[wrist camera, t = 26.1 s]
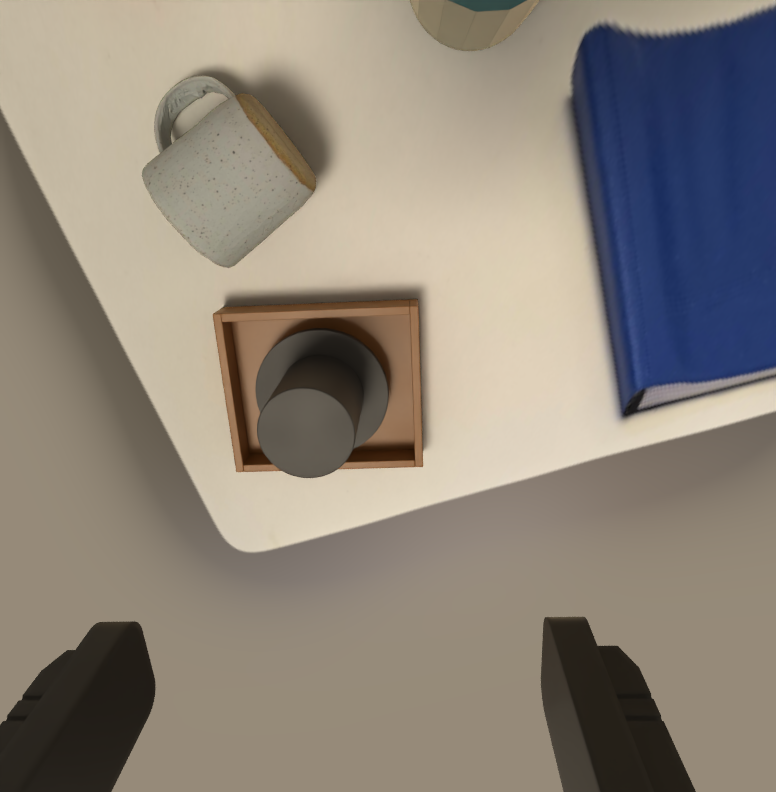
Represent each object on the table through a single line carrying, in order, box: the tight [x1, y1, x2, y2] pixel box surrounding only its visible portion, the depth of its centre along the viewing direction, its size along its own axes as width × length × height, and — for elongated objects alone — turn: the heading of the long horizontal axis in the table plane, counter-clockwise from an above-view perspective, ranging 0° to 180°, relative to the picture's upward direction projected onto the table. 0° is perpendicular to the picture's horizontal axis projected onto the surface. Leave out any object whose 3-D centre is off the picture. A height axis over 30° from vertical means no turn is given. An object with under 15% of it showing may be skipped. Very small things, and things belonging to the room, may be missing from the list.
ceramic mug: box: [142, 76, 316, 268], centre depth 35 cm, size 11×8×8 cm
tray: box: [213, 299, 423, 472], centre depth 43 cm, size 14×12×2 cm
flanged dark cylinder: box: [255, 328, 389, 478], centre depth 39 cm, size 10×10×9 cm
